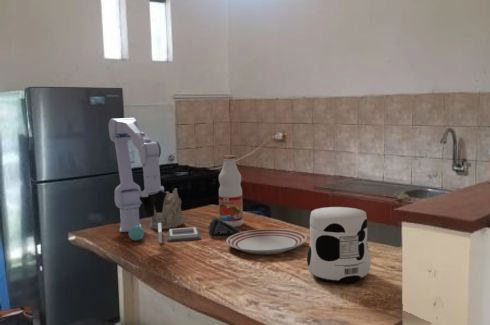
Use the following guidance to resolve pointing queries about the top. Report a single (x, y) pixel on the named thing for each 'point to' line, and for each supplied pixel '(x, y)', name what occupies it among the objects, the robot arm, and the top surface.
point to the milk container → (338, 244)
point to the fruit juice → (230, 193)
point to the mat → (183, 234)
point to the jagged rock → (168, 212)
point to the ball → (136, 233)
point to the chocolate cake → (221, 229)
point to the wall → (159, 232)
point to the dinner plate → (266, 240)
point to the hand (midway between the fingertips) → (155, 214)
